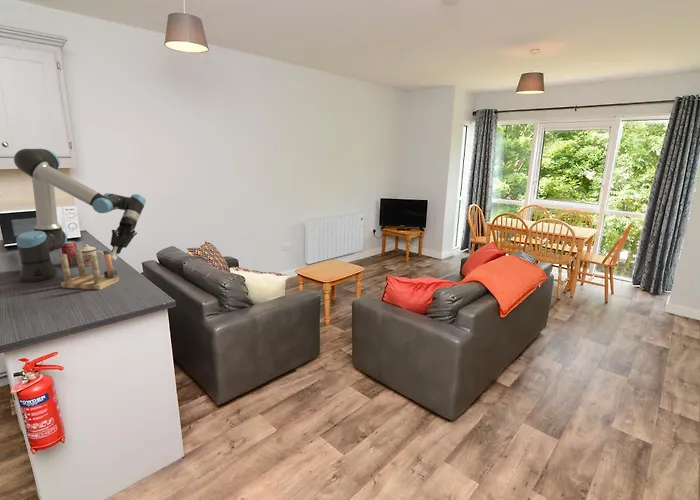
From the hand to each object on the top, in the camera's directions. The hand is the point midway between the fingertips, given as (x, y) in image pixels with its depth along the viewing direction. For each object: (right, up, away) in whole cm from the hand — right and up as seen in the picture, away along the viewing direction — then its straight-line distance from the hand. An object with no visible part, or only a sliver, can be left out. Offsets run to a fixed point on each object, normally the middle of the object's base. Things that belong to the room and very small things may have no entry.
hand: (112, 258), depth 188 cm
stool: (-9, -13, -3) cm, 16 cm away
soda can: (-42, -4, +28) cm, 51 cm away
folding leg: (-1, -9, 0) cm, 9 cm away
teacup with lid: (-31, -4, +29) cm, 43 cm away
